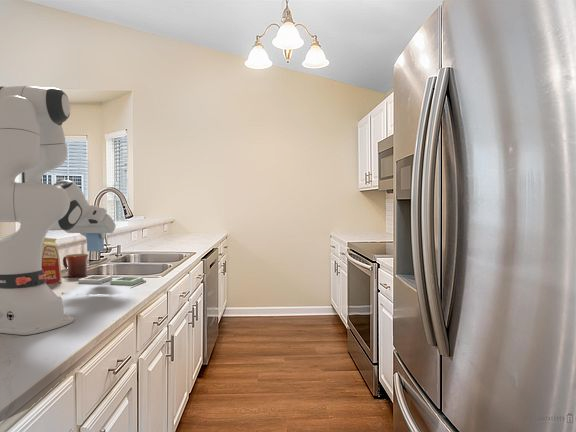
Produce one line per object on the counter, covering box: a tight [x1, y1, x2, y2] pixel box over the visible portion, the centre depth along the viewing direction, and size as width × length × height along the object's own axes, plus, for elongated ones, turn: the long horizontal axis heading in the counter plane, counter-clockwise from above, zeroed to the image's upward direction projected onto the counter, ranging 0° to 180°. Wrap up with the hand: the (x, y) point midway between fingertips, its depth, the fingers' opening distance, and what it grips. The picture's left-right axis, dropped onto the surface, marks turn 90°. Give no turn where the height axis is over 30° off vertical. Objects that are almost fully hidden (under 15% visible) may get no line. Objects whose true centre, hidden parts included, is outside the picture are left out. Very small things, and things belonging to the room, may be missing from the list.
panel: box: [75, 274, 147, 289], centre depth 160 cm, size 24×12×2 cm, turn 81°
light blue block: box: [86, 233, 105, 253], centre depth 161 cm, size 4×4×11 cm
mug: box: [62, 253, 89, 278], centre depth 174 cm, size 12×9×10 cm
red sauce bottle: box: [41, 237, 63, 285], centre depth 160 cm, size 9×9×20 cm
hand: (96, 237), depth 161 cm, fingers closed on light blue block, 4 cm apart
